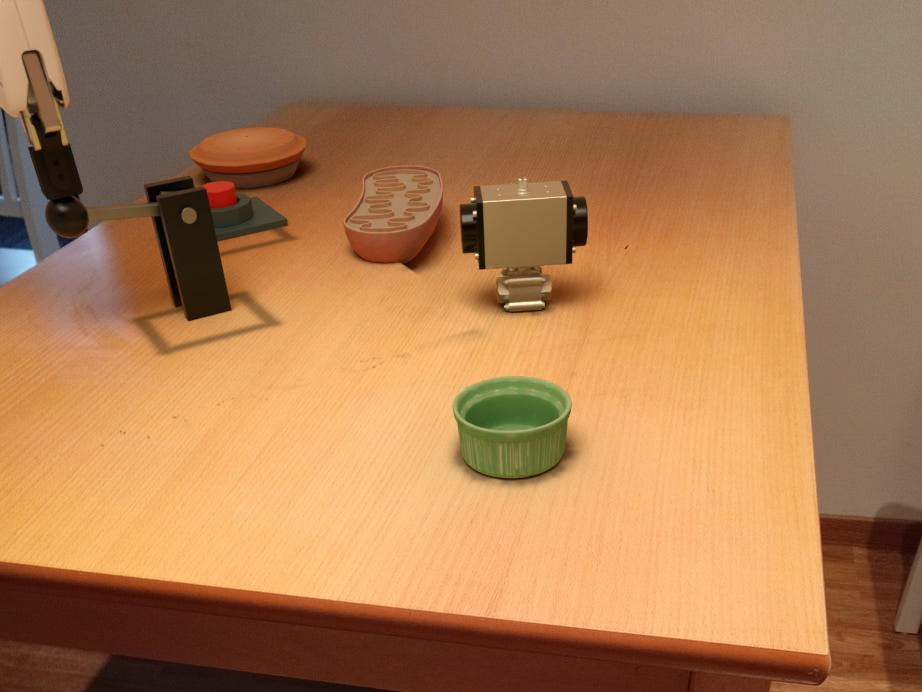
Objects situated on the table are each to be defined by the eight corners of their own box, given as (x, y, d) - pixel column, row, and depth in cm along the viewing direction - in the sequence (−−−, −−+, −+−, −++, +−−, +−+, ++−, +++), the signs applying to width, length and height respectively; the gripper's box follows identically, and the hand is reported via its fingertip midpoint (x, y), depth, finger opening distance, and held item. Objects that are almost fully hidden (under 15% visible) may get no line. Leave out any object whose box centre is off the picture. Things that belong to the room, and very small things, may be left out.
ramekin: (594, 448, 79) (596, 396, 76) (519, 497, 74) (518, 445, 71) (507, 414, 84) (505, 364, 81) (431, 458, 79) (427, 407, 76)
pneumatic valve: (586, 311, 99) (589, 182, 91) (466, 319, 99) (459, 190, 91) (578, 289, 103) (581, 163, 95) (463, 296, 103) (457, 171, 95)
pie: (292, 195, 130) (285, 153, 127) (178, 194, 132) (168, 153, 129) (324, 159, 141) (319, 120, 138) (219, 159, 144) (211, 120, 140)
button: (209, 213, 115) (205, 194, 113) (198, 204, 117) (194, 185, 116) (242, 206, 116) (239, 187, 115) (231, 197, 119) (227, 178, 118)
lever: (54, 245, 89) (46, 201, 86) (45, 233, 91) (37, 191, 89) (202, 231, 94) (198, 190, 92) (190, 220, 97) (185, 180, 94)
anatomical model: (372, 209, 124) (367, 166, 121) (452, 207, 124) (450, 163, 121) (343, 281, 107) (336, 233, 104) (436, 279, 107) (432, 231, 103)
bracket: (164, 351, 96) (128, 212, 88) (138, 319, 102) (102, 186, 94) (273, 323, 100) (248, 187, 92) (242, 293, 106) (216, 163, 98)
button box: (190, 261, 114) (182, 224, 111) (164, 235, 120) (156, 200, 118) (290, 238, 118) (284, 202, 115) (259, 215, 125) (253, 180, 122)
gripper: (-79, -62, 80) (3, 182, 92) (-51, -44, 70) (37, 227, 82) (18, -73, 83) (86, 166, 95) (59, -57, 73) (129, 208, 85)
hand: (63, 194), depth 88 cm, fingers closed
